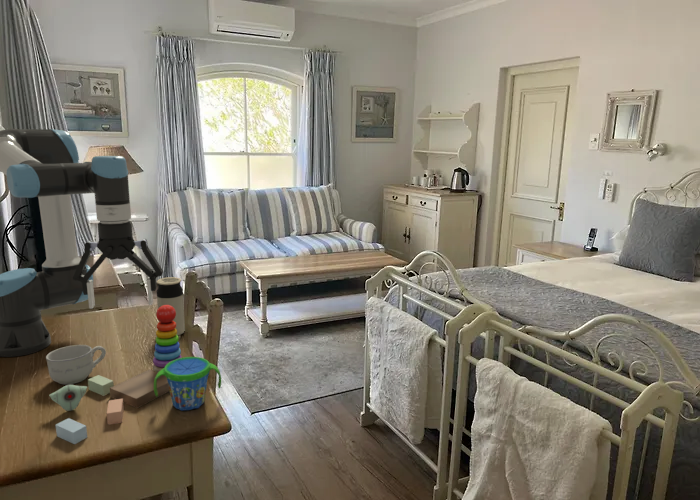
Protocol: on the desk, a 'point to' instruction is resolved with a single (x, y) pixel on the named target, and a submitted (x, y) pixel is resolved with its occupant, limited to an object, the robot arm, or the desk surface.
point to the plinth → (140, 388)
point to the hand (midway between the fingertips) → (121, 305)
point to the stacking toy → (166, 338)
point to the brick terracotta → (115, 411)
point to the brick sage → (100, 385)
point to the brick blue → (71, 431)
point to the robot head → (69, 396)
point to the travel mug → (172, 299)
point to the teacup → (72, 363)
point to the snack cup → (187, 381)
